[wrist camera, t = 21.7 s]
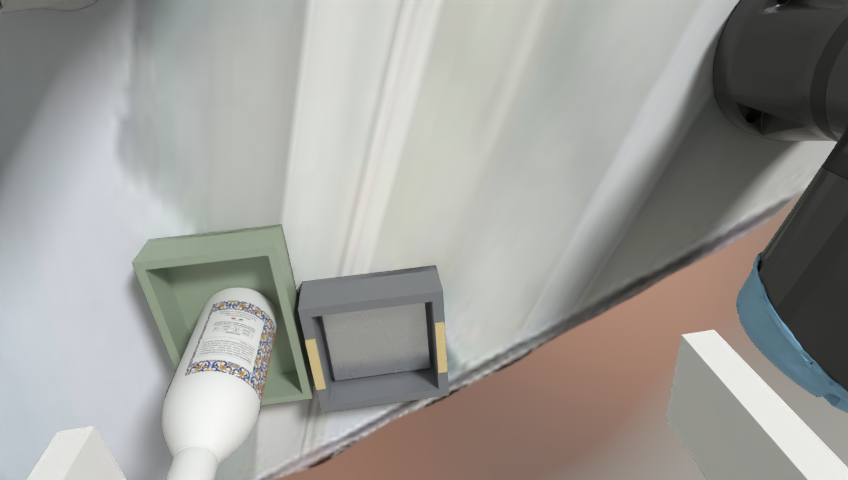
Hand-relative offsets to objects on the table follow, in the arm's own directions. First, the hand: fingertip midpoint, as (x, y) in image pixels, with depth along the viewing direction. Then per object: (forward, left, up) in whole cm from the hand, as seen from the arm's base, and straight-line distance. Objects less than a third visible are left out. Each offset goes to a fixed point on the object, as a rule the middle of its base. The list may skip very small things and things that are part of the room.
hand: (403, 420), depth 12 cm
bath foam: (+14, +20, -33) cm, 41 cm away
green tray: (+15, +20, -34) cm, 42 cm away
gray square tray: (+2, +24, -34) cm, 41 cm away
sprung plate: (+2, +24, -33) cm, 41 cm away
